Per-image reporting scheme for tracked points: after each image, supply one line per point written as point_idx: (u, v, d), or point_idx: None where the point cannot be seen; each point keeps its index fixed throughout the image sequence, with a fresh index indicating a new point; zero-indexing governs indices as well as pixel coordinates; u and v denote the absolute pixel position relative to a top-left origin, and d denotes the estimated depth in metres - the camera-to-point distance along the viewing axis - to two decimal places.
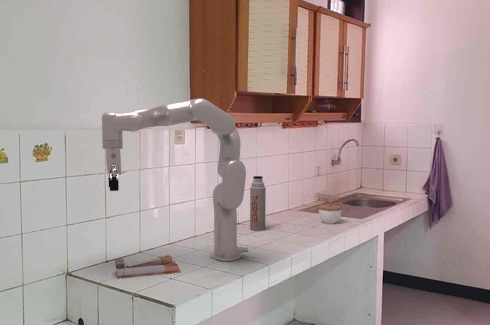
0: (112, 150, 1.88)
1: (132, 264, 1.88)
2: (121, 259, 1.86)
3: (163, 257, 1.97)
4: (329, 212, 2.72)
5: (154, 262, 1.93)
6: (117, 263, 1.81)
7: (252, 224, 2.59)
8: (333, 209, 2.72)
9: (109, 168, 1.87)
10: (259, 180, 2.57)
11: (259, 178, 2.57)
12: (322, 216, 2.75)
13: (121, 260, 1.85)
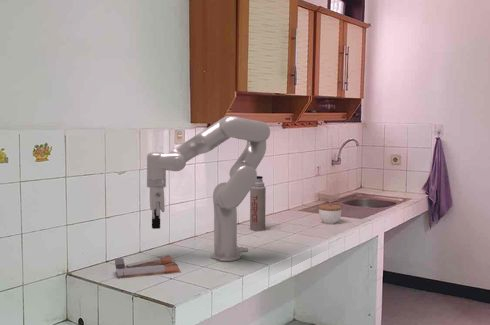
0: (157, 189, 1.96)
1: (132, 264, 1.88)
2: (121, 259, 1.86)
3: (163, 257, 1.97)
4: (329, 212, 2.72)
5: (154, 262, 1.93)
6: (117, 263, 1.81)
7: (252, 224, 2.59)
8: (333, 209, 2.72)
9: (153, 206, 1.96)
10: (259, 180, 2.57)
11: (259, 178, 2.57)
12: (322, 216, 2.75)
13: (121, 260, 1.85)
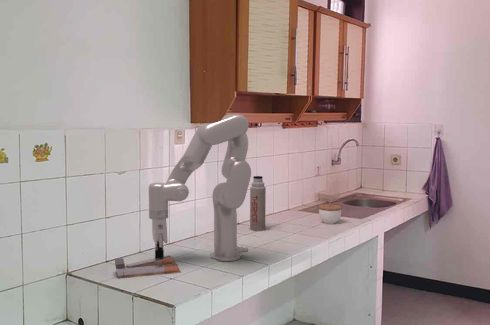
0: (159, 221, 1.94)
1: (132, 264, 1.88)
2: (121, 259, 1.86)
3: (164, 257, 1.97)
4: (329, 212, 2.72)
5: (154, 262, 1.93)
6: (117, 263, 1.81)
7: (252, 224, 2.59)
8: (333, 209, 2.72)
9: (156, 238, 1.93)
10: (259, 180, 2.57)
11: (259, 178, 2.57)
12: (322, 216, 2.75)
13: (121, 260, 1.85)
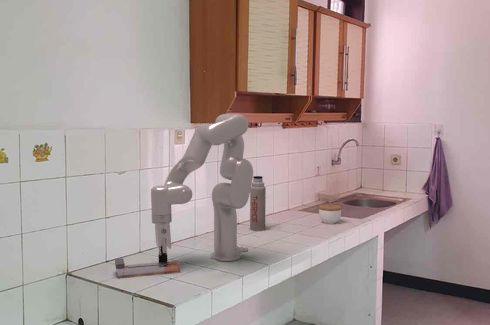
0: (162, 225, 1.87)
1: (133, 265, 1.87)
2: (121, 259, 1.86)
3: (170, 262, 1.91)
4: (329, 212, 2.72)
5: None
6: (117, 263, 1.81)
7: (252, 224, 2.59)
8: (333, 209, 2.72)
9: (159, 243, 1.87)
10: (259, 180, 2.57)
11: (259, 178, 2.57)
12: (322, 216, 2.75)
13: (121, 260, 1.85)
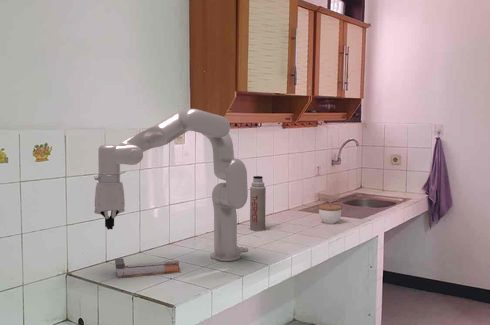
0: None
1: (133, 265, 1.87)
2: (121, 259, 1.86)
3: (170, 262, 1.91)
4: (329, 212, 2.72)
5: None
6: (117, 263, 1.81)
7: (252, 224, 2.59)
8: (333, 209, 2.72)
9: None
10: (259, 180, 2.57)
11: (259, 178, 2.57)
12: (322, 216, 2.75)
13: (121, 260, 1.85)
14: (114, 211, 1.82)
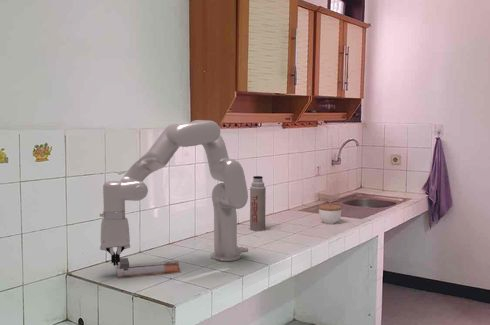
0: None
1: (133, 265, 1.87)
2: (126, 259, 1.86)
3: (170, 262, 1.91)
4: (329, 212, 2.72)
5: None
6: (122, 263, 1.81)
7: (252, 224, 2.59)
8: (333, 209, 2.72)
9: None
10: (259, 180, 2.57)
11: (259, 178, 2.57)
12: (322, 216, 2.75)
13: (126, 259, 1.85)
14: (119, 247, 1.82)
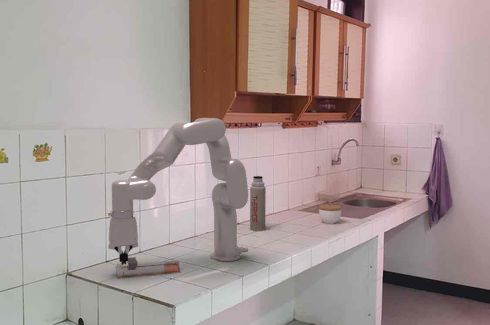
0: (110, 220, 1.81)
1: None
2: (133, 258, 1.87)
3: (170, 262, 1.91)
4: (329, 212, 2.72)
5: None
6: (130, 262, 1.82)
7: (252, 224, 2.59)
8: (333, 209, 2.72)
9: None
10: (259, 180, 2.57)
11: (259, 178, 2.57)
12: (322, 216, 2.75)
13: (134, 259, 1.86)
14: (128, 246, 1.83)
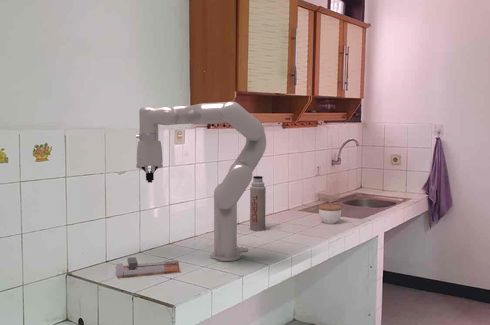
0: None
1: None
2: (134, 258, 1.87)
3: (170, 262, 1.91)
4: (329, 212, 2.72)
5: None
6: (130, 262, 1.82)
7: (252, 224, 2.59)
8: (333, 209, 2.72)
9: None
10: (259, 180, 2.57)
11: (259, 178, 2.57)
12: (322, 216, 2.75)
13: (134, 259, 1.86)
14: (153, 166, 2.04)
